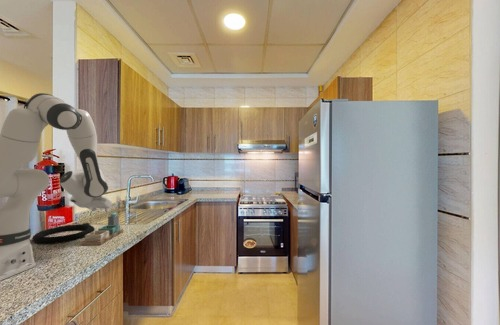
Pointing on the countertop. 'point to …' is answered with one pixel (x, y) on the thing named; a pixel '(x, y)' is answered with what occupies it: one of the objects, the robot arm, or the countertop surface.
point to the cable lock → (59, 239)
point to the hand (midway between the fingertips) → (101, 210)
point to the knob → (113, 219)
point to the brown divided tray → (102, 235)
